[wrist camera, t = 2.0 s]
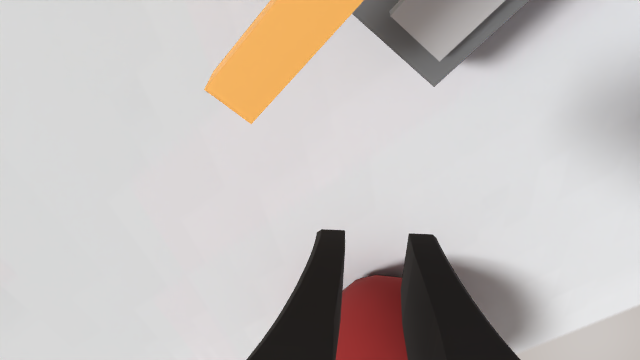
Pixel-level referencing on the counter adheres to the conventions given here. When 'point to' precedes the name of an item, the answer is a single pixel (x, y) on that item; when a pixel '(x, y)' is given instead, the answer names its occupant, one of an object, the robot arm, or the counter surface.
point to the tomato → (372, 320)
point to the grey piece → (435, 29)
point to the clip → (275, 52)
